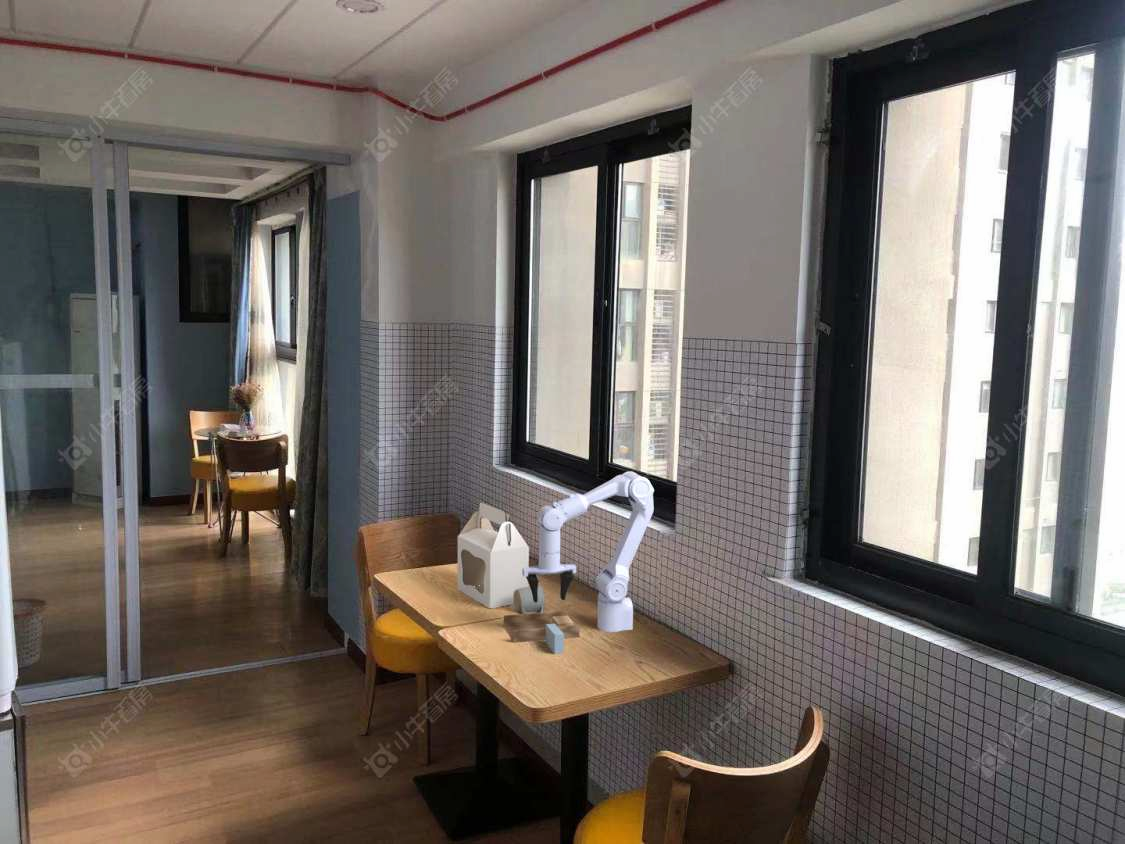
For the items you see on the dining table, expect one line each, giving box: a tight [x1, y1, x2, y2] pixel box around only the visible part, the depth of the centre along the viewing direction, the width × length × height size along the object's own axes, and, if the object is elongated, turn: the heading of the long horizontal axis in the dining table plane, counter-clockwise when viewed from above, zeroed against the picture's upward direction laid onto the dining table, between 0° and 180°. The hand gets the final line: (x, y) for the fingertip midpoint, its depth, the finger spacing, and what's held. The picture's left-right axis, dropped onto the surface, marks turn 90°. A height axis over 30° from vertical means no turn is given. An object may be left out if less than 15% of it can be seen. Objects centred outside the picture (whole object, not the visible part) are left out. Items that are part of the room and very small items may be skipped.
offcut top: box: [552, 615, 574, 627], centre depth 249 cm, size 4×6×2 cm
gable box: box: [457, 501, 530, 609], centre depth 279 cm, size 22×13×28 cm, turn 32°
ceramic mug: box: [513, 584, 546, 614], centre depth 264 cm, size 11×8×8 cm
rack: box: [503, 610, 581, 644], centre depth 248 cm, size 18×13×4 cm
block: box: [545, 624, 565, 655], centre depth 235 cm, size 2×8×6 cm, turn 17°
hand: (549, 600), depth 246 cm, fingers open, 7 cm apart
